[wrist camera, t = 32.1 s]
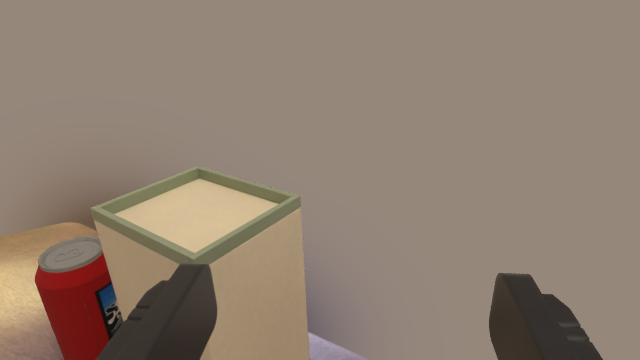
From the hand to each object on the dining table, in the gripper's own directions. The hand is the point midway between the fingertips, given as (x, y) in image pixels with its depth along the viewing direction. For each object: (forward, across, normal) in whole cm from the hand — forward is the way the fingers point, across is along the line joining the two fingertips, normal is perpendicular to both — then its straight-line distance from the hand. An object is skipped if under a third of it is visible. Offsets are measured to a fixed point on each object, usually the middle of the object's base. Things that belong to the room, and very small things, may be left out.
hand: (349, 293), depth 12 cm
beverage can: (+20, -27, -25) cm, 42 cm away
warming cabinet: (+17, -12, -25) cm, 32 cm away
